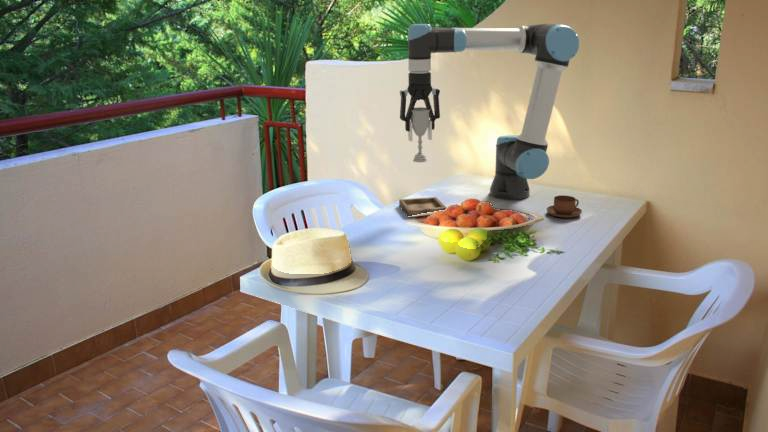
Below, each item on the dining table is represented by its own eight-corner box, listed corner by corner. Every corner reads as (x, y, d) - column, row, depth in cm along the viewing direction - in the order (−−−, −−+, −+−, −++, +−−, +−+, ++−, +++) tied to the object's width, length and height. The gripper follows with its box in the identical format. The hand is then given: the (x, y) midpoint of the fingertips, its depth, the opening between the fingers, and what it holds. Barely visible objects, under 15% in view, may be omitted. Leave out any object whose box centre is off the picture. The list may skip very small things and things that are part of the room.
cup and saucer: (558, 208, 251) (559, 191, 249) (587, 215, 243) (589, 198, 241) (539, 215, 243) (540, 198, 241) (569, 222, 235) (571, 205, 233)
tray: (435, 203, 257) (436, 197, 256) (446, 214, 244) (447, 207, 243) (399, 206, 254) (399, 199, 253) (408, 217, 241) (408, 210, 240)
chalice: (430, 158, 243) (430, 107, 238) (430, 162, 237) (430, 110, 231) (410, 158, 244) (409, 107, 238) (409, 162, 237) (408, 110, 232)
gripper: (443, 69, 236) (443, 135, 244) (389, 72, 232) (390, 139, 240) (450, 71, 229) (450, 140, 237) (394, 74, 225) (395, 143, 233)
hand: (420, 139), depth 238 cm, fingers closed on chalice, 6 cm apart
